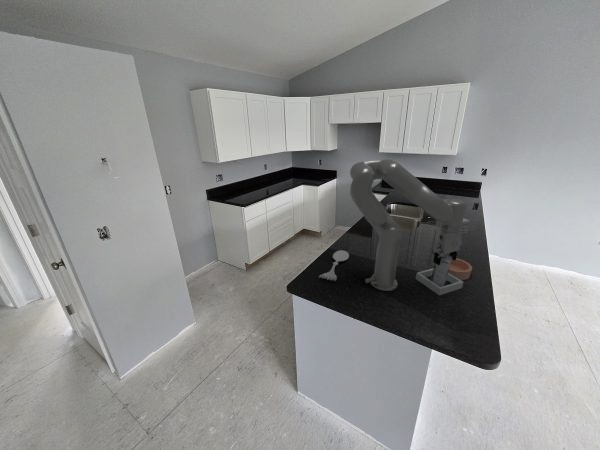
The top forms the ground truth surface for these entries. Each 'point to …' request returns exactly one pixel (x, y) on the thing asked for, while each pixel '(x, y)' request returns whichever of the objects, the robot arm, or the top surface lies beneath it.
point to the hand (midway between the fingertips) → (444, 261)
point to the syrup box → (441, 271)
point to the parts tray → (438, 290)
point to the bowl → (460, 269)
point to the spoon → (337, 257)
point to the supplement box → (464, 227)
